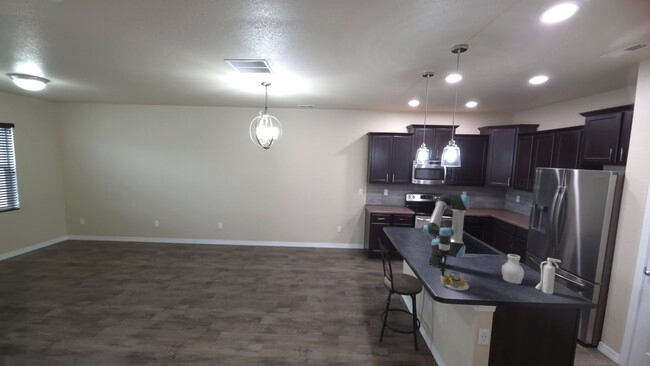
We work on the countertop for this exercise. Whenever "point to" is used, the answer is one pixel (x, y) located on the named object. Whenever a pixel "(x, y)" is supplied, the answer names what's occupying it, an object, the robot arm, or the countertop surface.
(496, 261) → the countertop surface
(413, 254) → the countertop surface
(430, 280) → the countertop surface
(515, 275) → the vase
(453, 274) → the flange
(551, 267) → the fire extinguisher
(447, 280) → the gold crown ring
